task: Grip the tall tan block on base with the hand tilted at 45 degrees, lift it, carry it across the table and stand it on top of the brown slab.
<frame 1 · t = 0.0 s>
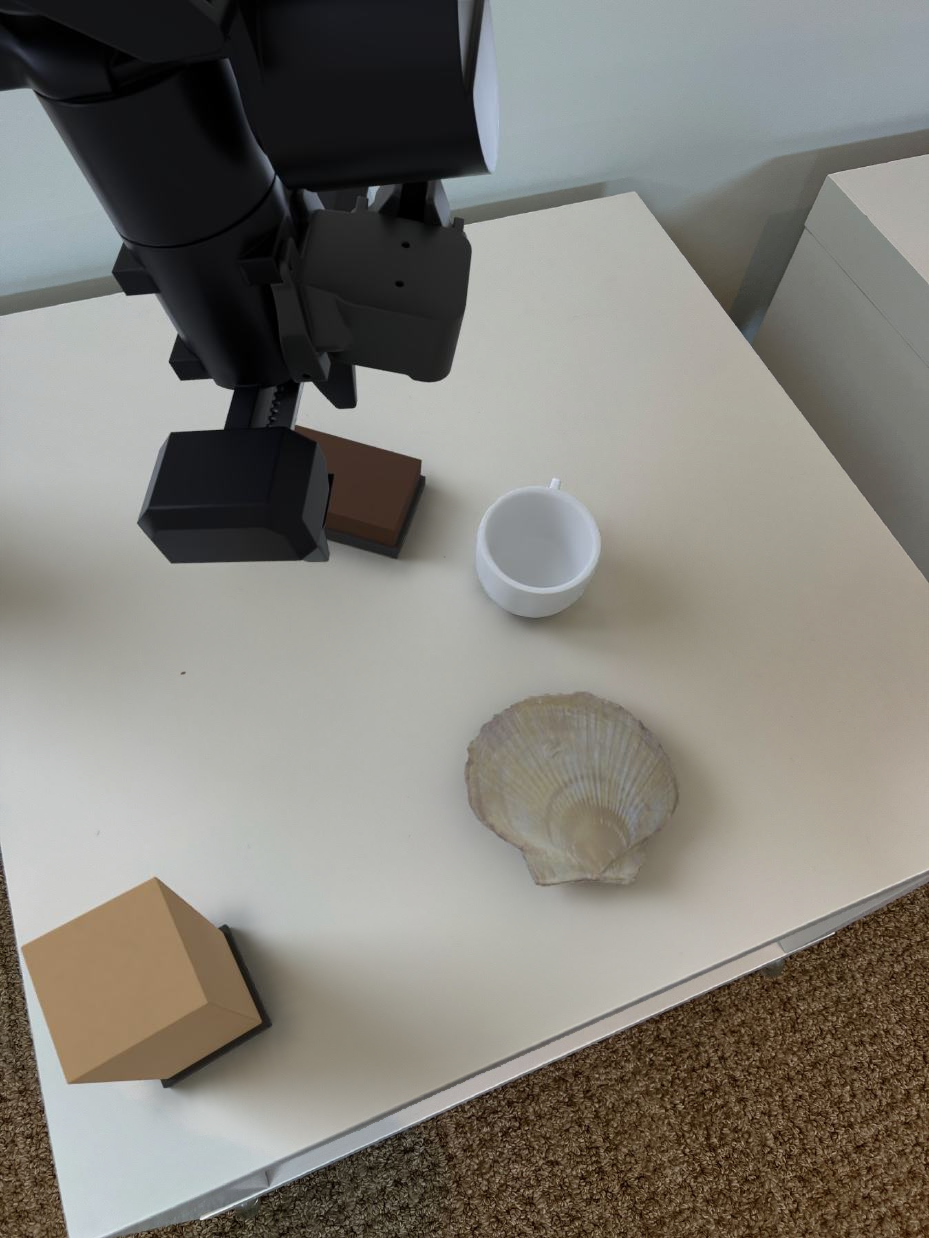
hand: (333, 479, 42), 15 cm above the table, tool pointing down, fingers open, 9 cm apart
seashell: (565, 796, 51), on the table
teacup: (530, 570, 58), on the table
tan block on base: (199, 1003, 44), on the table
brown slab: (335, 499, 59), on the table
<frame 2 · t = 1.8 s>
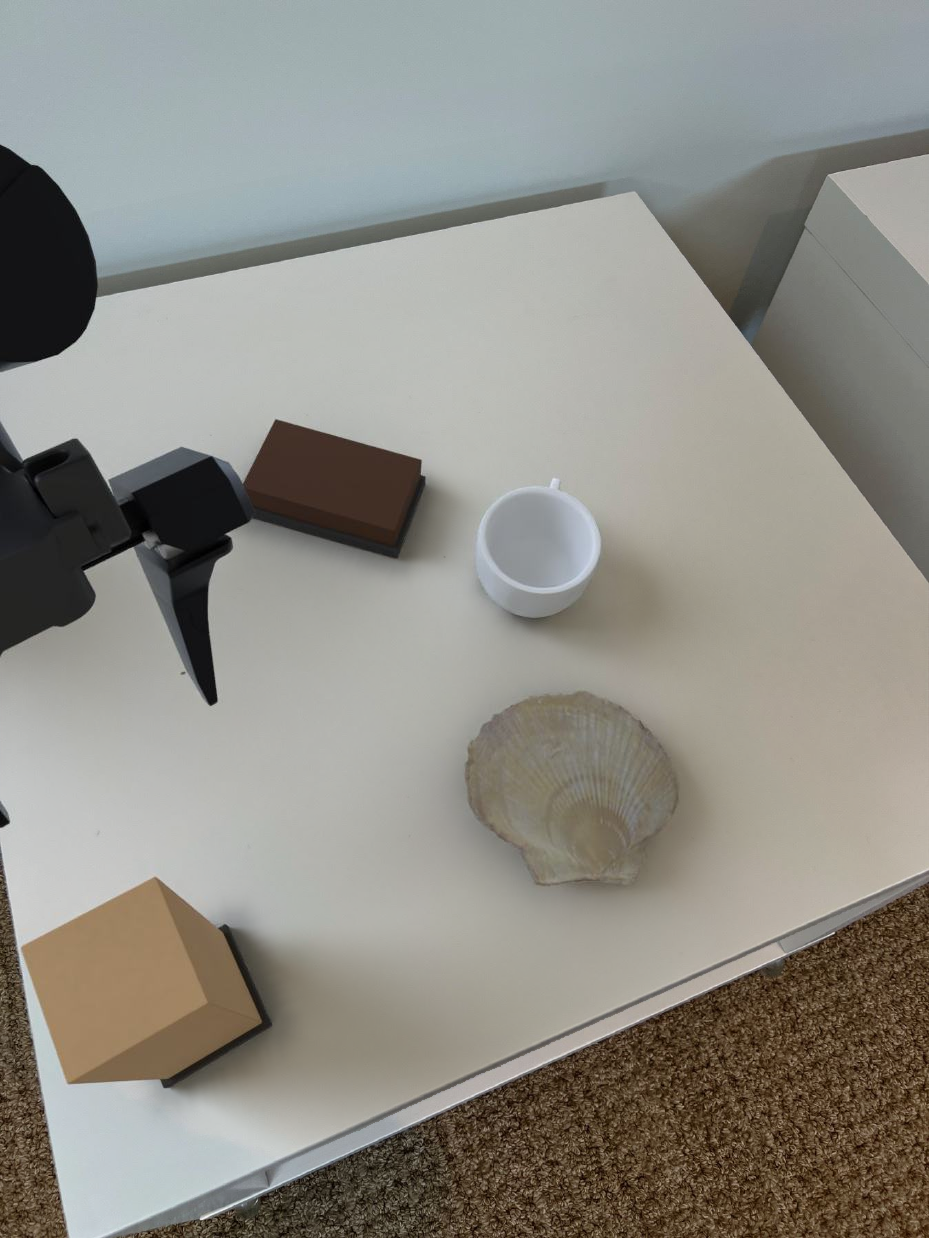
hand: (113, 758, 36), 14 cm above the table, tool tilted 40°, fingers open, 9 cm apart
nothing on the table moved.
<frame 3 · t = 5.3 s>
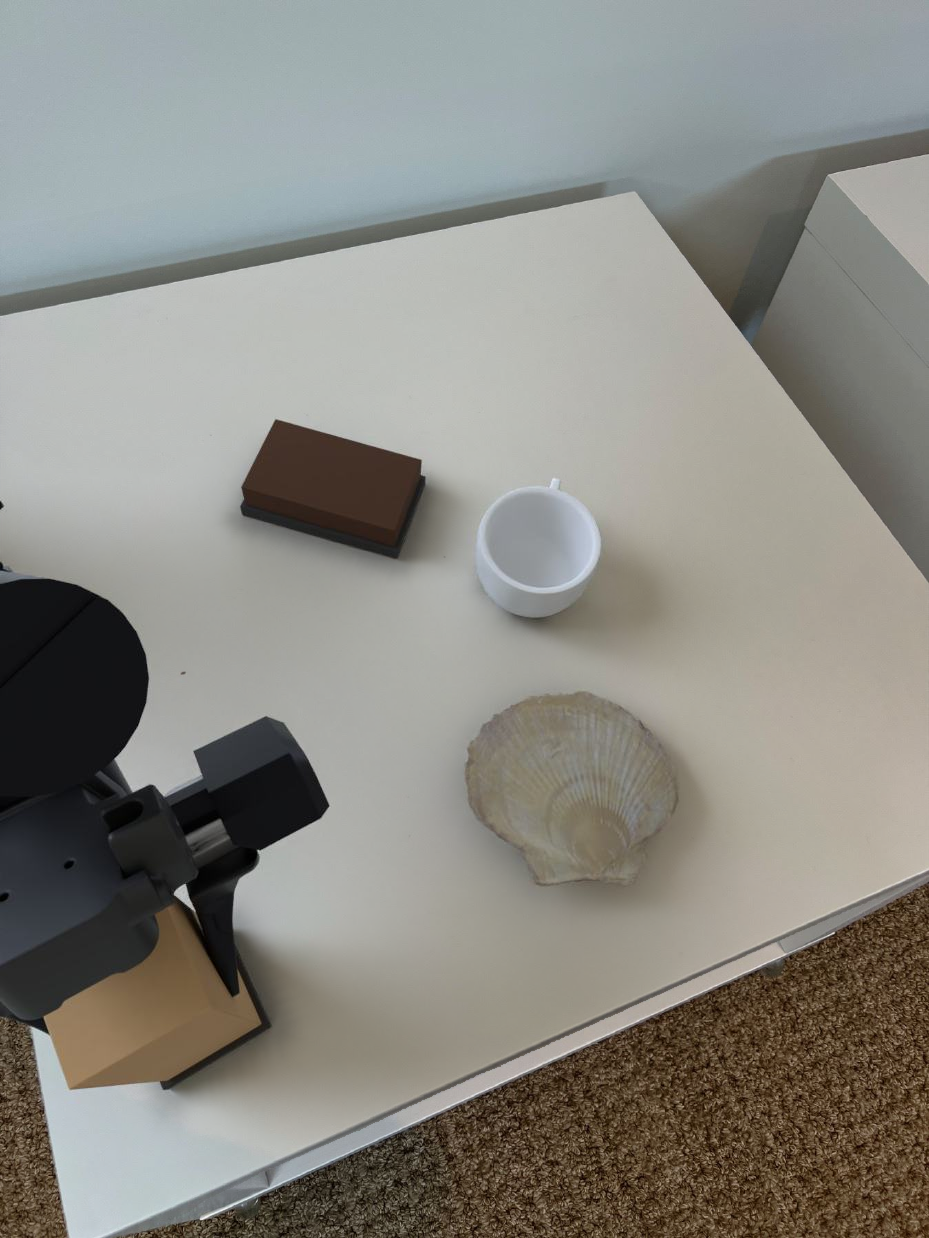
hand: (175, 1023, 37), 8 cm above the table, tool tilted 45°, fingers closed on tan block on base, 5 cm apart
tan block on base: (198, 1005, 44), on the table, touching gripper
everything else where it was.
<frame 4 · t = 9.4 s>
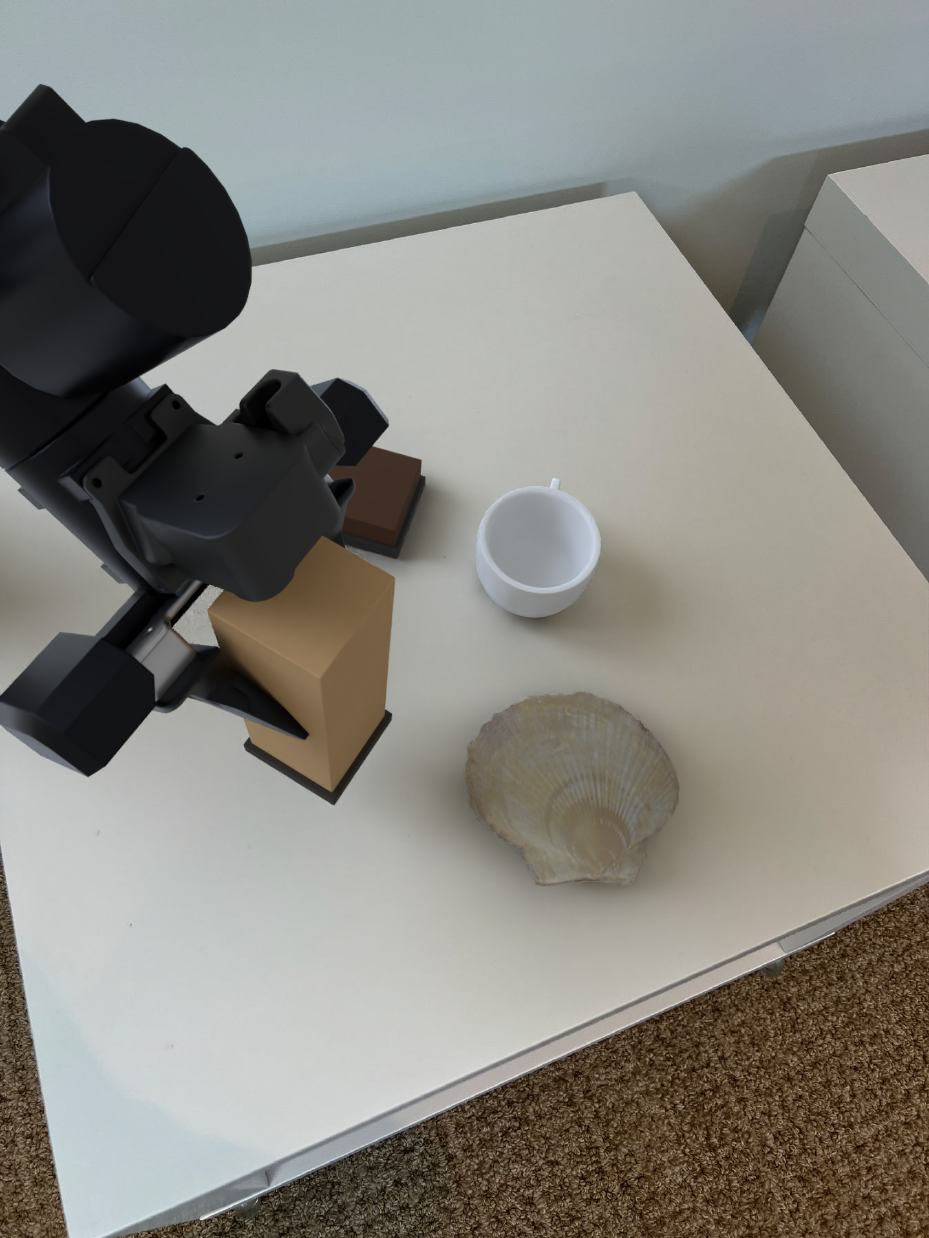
hand: (336, 689, 39), 13 cm above the table, tool tilted 45°, fingers closed on tan block on base, 5 cm apart
tan block on base: (319, 734, 46), point 5 cm above the table, touching gripper
everything else where it was.
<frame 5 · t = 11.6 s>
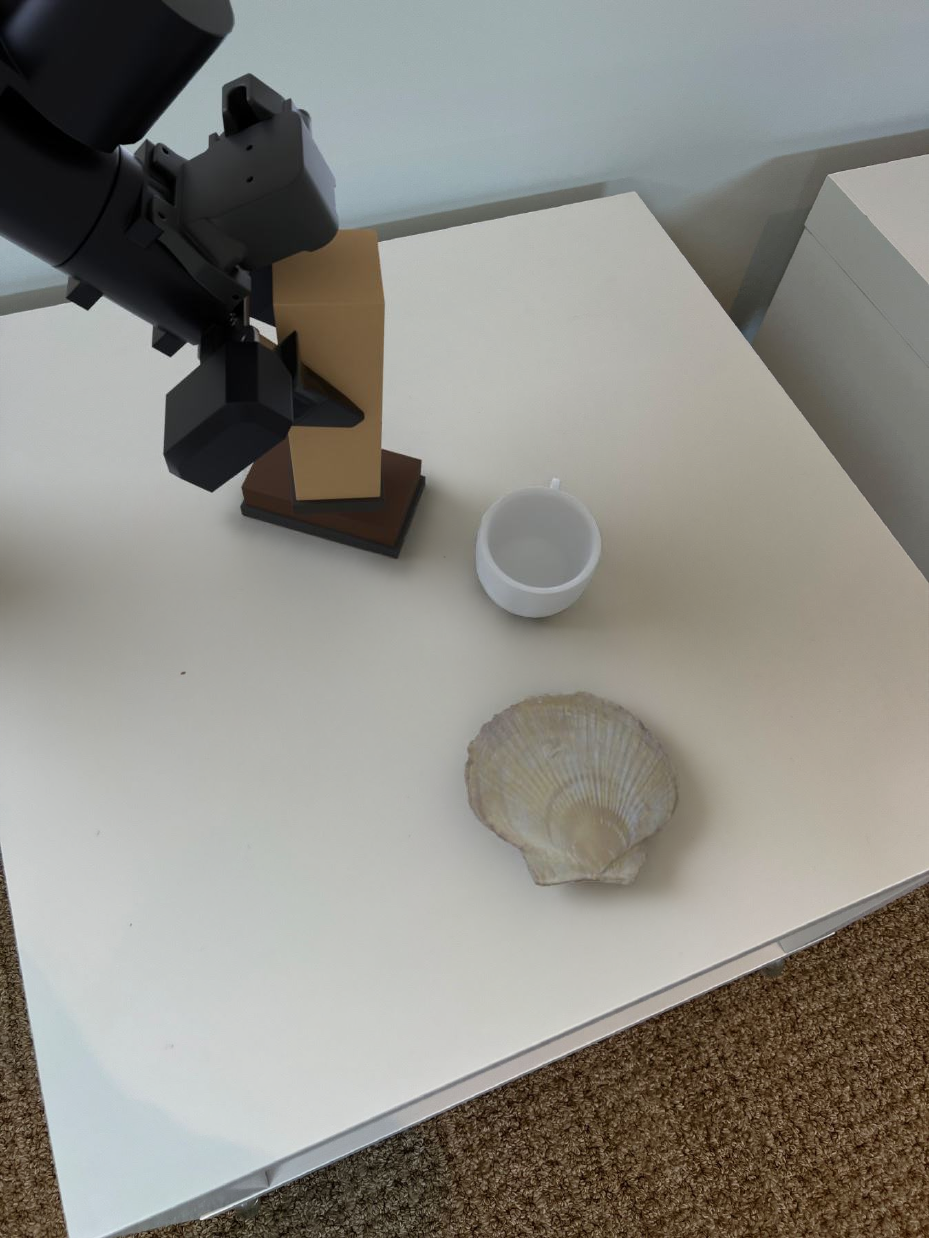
hand: (355, 383, 47), 13 cm above the table, tool tilted 45°, fingers closed on tan block on base, 5 cm apart
tan block on base: (336, 475, 54), point 5 cm above the table, touching gripper
everything else where it was.
when the fingers open (11 cm above the table, at t = 13.6 s): tan block on base stays where it is, resting on brown slab.
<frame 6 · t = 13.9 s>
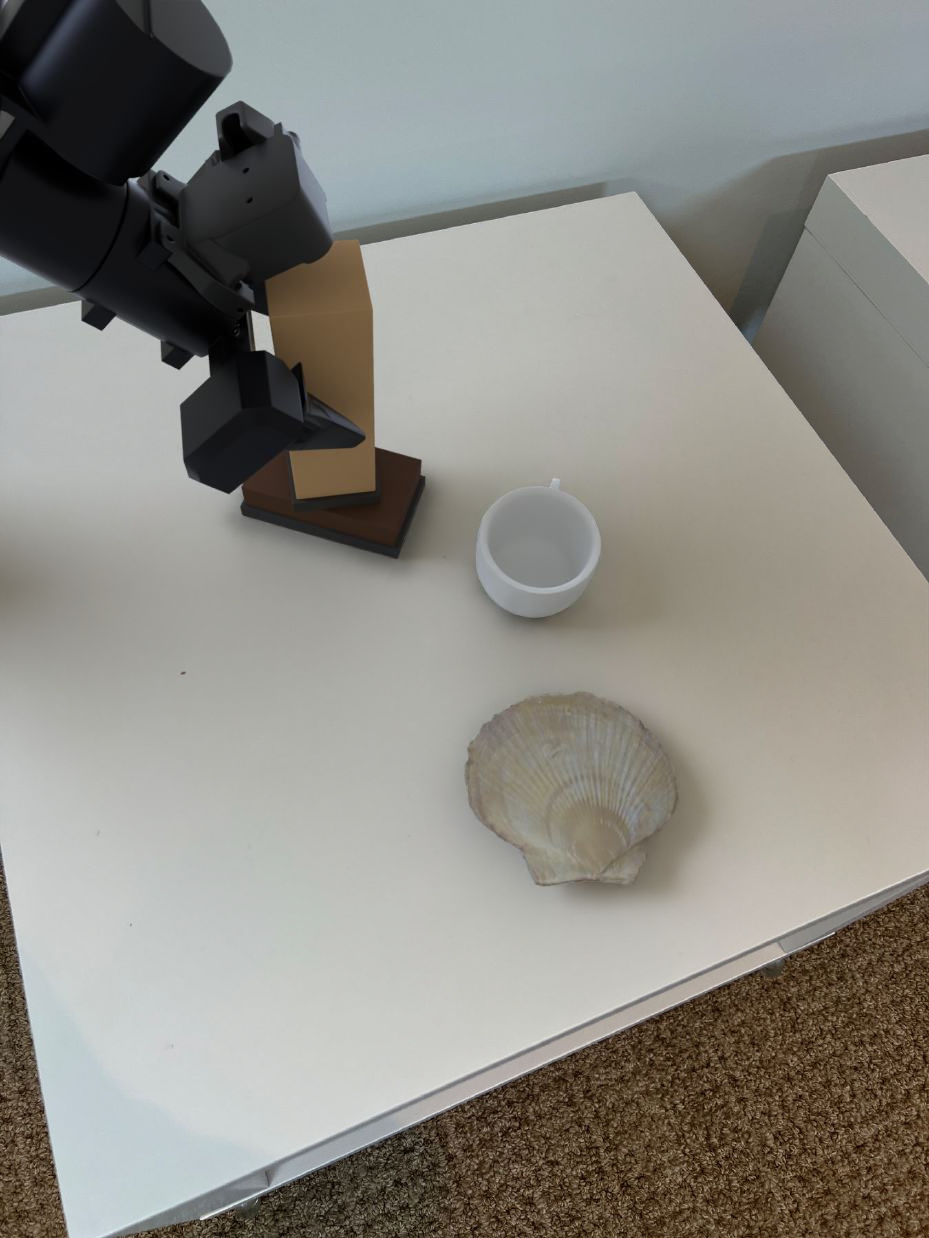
hand: (350, 384, 50), 11 cm above the table, tool tilted 45°, fingers open, 8 cm apart
tan block on base: (332, 473, 57), point 3 cm above the table, touching brown slab
everything else where it was.
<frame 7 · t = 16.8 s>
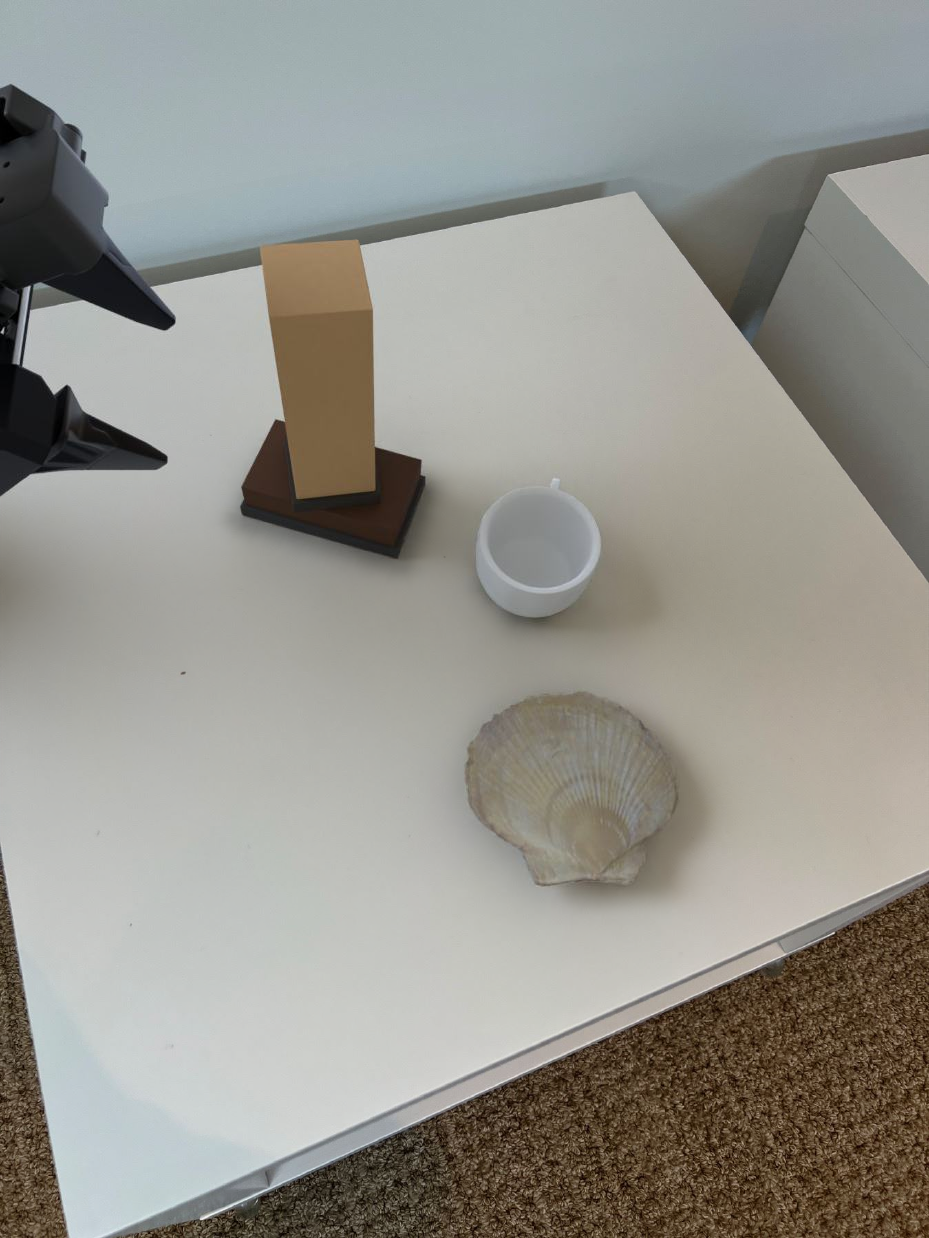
hand: (167, 391, 47), 13 cm above the table, tool tilted 40°, fingers open, 9 cm apart
nothing on the table moved.
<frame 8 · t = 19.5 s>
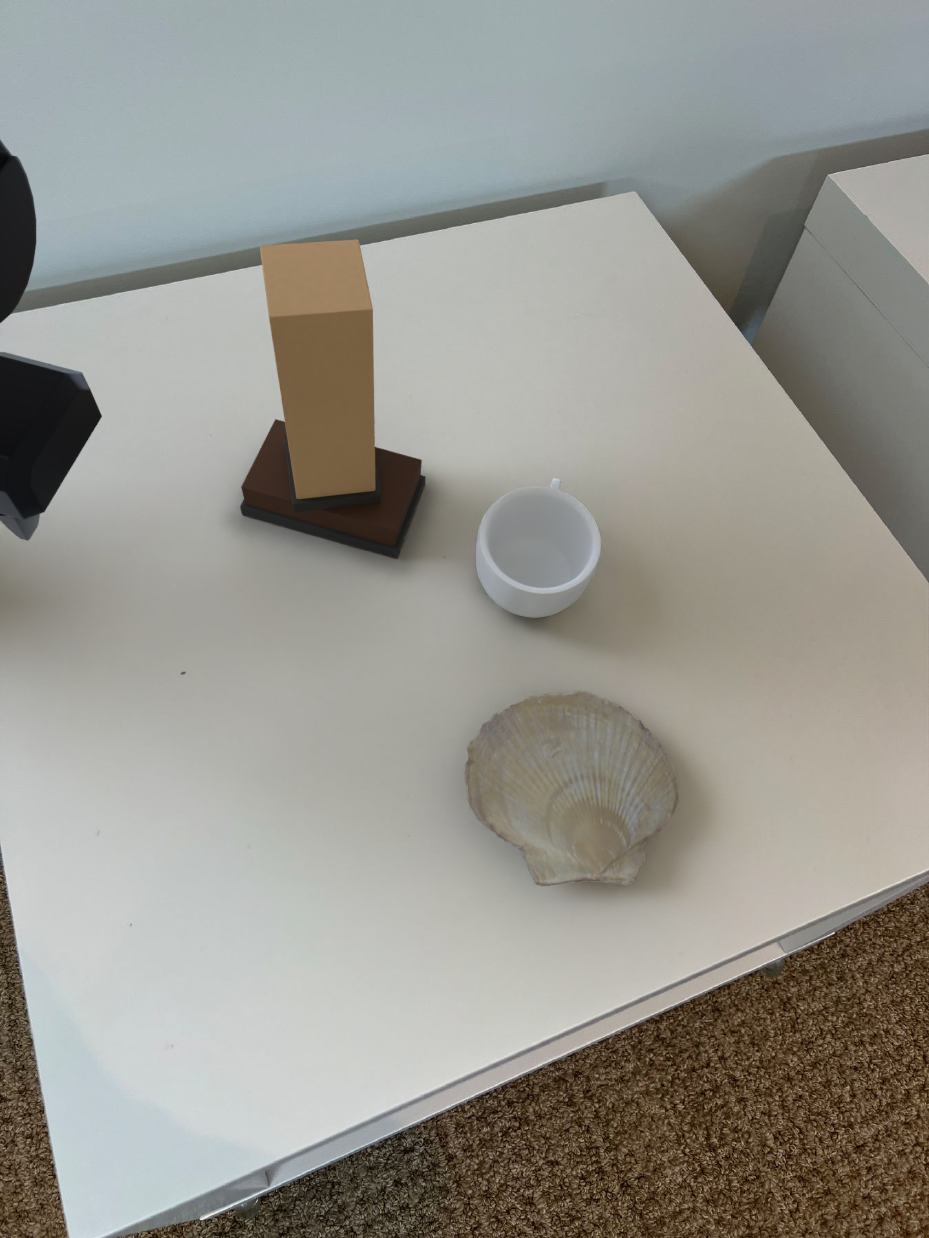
nothing on the table moved.
at the end: tan block on base 0.1 cm off-centre on the brown slab, point 3.0 cm above the brown slab's base; tan block on base tilted 0°; the gripper is holding nothing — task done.
